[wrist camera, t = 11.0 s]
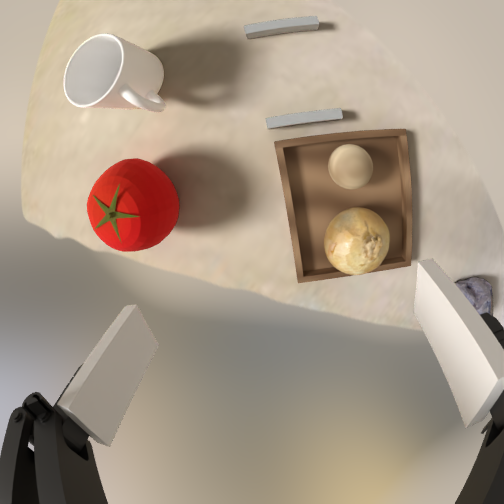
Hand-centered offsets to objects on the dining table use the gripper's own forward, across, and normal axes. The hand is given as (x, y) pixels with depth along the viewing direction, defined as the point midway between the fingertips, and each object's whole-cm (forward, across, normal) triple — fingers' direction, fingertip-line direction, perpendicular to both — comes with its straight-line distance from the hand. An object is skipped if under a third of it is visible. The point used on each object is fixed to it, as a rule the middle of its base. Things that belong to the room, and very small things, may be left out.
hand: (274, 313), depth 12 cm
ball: (+23, +8, +2) cm, 24 cm away
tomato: (+23, -16, +3) cm, 28 cm away
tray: (+23, +8, -3) cm, 24 cm away
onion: (+23, +8, -7) cm, 25 cm away
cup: (+24, -13, +18) cm, 32 cm away
